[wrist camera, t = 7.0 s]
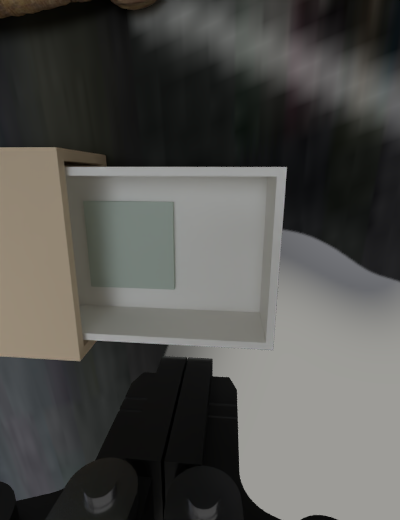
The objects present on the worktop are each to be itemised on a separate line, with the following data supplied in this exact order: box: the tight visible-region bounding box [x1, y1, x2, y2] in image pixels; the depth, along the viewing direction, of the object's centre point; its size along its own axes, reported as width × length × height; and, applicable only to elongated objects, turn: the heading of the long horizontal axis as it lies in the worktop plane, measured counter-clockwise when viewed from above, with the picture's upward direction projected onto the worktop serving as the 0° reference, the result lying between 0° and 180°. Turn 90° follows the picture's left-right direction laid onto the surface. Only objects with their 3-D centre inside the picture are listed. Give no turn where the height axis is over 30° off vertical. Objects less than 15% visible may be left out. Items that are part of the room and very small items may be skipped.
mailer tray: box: [65, 167, 287, 350], centre depth 26 cm, size 14×19×6 cm
